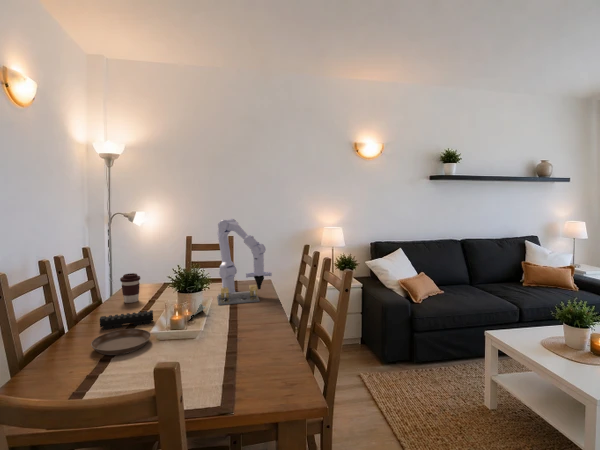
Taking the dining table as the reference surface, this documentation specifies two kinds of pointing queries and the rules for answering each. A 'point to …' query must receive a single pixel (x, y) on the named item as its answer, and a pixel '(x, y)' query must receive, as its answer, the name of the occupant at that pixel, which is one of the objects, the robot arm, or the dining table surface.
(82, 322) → the dining table surface
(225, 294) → the beam with fixed leg
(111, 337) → the plant saucer
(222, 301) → the bolt plate
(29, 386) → the dining table surface
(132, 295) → the coffee cup
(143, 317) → the rail mount
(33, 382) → the dining table surface
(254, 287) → the sliding leg
